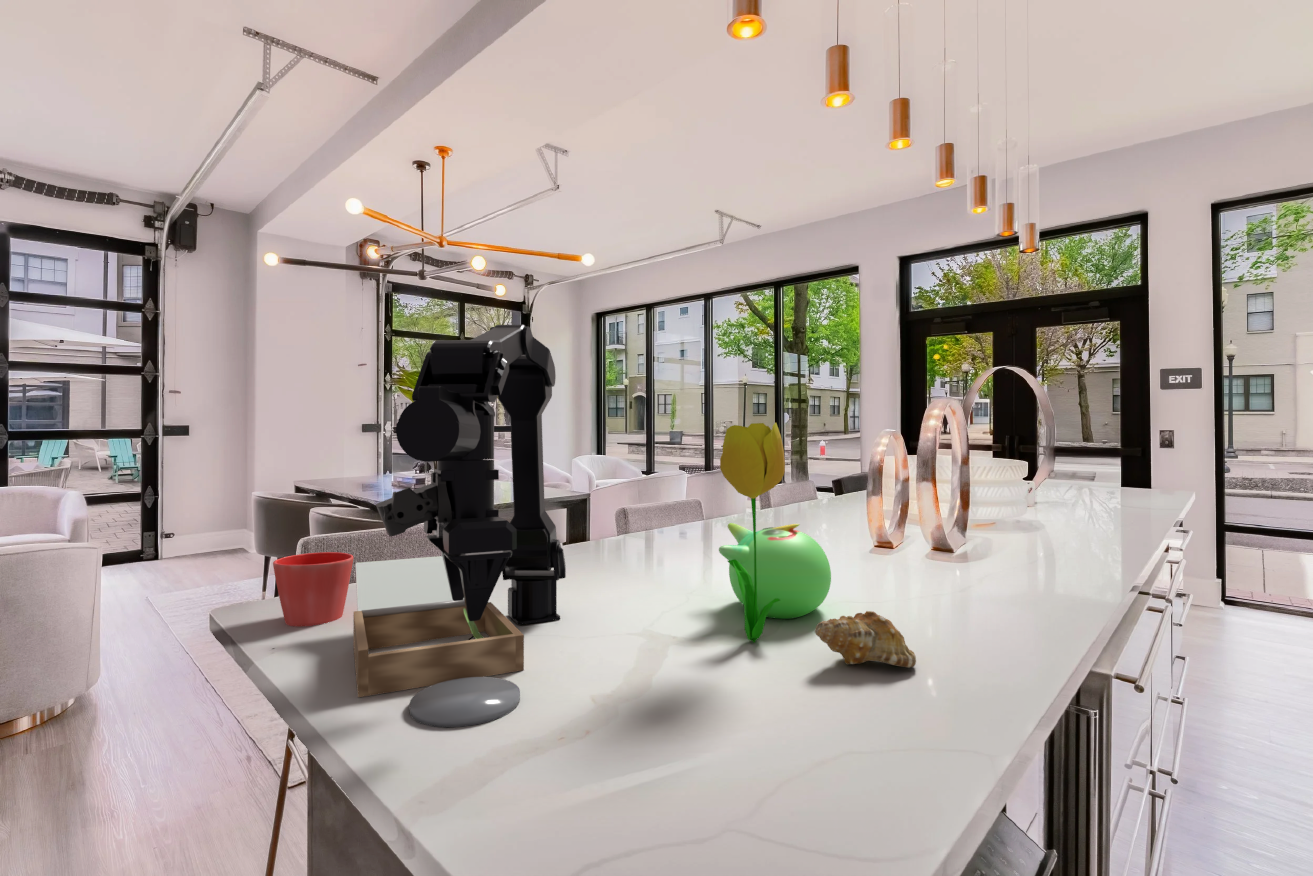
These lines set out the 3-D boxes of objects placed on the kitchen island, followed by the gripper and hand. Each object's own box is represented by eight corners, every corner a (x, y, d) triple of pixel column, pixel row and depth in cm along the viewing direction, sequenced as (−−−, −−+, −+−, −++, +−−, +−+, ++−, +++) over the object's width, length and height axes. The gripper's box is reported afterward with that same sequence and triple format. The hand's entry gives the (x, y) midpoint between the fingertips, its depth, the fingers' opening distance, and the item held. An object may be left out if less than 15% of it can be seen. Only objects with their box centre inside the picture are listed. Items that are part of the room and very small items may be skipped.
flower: (792, 641, 87) (791, 422, 87) (778, 659, 80) (777, 420, 80) (732, 633, 91) (731, 423, 91) (713, 650, 83) (712, 422, 84)
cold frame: (490, 631, 92) (490, 596, 92) (523, 670, 76) (523, 628, 76) (353, 649, 84) (353, 611, 84) (358, 697, 68) (358, 650, 68)
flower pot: (320, 633, 91) (320, 565, 91) (255, 628, 93) (256, 562, 94) (368, 613, 102) (368, 553, 102) (308, 610, 104) (309, 551, 104)
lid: (473, 614, 101) (473, 553, 101) (488, 633, 91) (488, 565, 91) (355, 629, 93) (355, 562, 93) (357, 650, 83) (358, 576, 83)
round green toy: (837, 635, 90) (837, 531, 90) (718, 630, 92) (718, 529, 92) (825, 604, 107) (824, 517, 107) (725, 600, 110) (724, 515, 110)
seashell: (887, 707, 71) (841, 631, 71) (839, 696, 78) (798, 627, 78) (933, 655, 75) (890, 583, 75) (883, 650, 82) (844, 584, 82)
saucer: (506, 677, 73) (506, 670, 73) (532, 713, 64) (532, 705, 64) (404, 694, 68) (404, 687, 68) (416, 736, 59) (416, 727, 59)
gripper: (376, 459, 71) (375, 599, 71) (389, 462, 54) (388, 646, 54) (477, 458, 76) (477, 589, 76) (518, 461, 59) (518, 628, 59)
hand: (465, 609), depth 66 cm, fingers open, 9 cm apart
